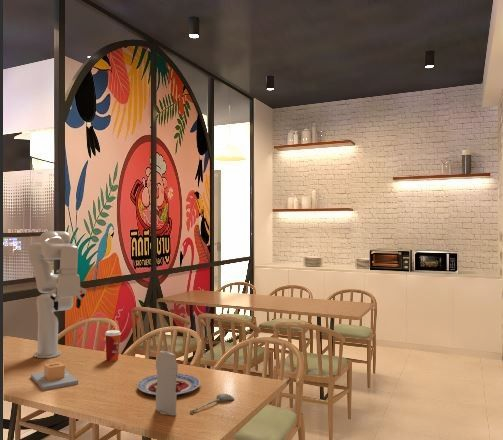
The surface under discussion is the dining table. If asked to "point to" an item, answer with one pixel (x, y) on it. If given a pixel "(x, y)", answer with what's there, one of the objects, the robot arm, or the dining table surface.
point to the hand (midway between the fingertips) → (67, 308)
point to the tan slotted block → (54, 371)
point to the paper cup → (112, 345)
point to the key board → (54, 381)
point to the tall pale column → (166, 383)
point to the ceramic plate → (182, 384)
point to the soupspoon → (219, 398)
